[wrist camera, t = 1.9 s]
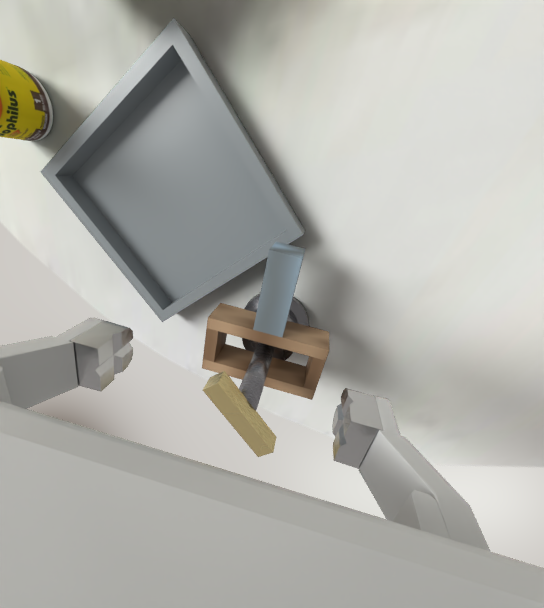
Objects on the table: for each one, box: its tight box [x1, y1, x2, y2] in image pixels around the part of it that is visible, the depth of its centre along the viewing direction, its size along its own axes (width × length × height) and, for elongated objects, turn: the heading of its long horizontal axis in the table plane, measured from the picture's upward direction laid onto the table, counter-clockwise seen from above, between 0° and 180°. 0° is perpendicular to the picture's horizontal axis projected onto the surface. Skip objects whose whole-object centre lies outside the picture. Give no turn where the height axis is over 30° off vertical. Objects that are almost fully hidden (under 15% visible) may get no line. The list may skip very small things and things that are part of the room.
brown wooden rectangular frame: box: [202, 242, 329, 399], centre depth 23 cm, size 10×12×3 cm
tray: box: [41, 18, 305, 322], centre depth 25 cm, size 17×17×2 cm
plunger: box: [203, 294, 309, 457], centre depth 24 cm, size 7×7×14 cm
